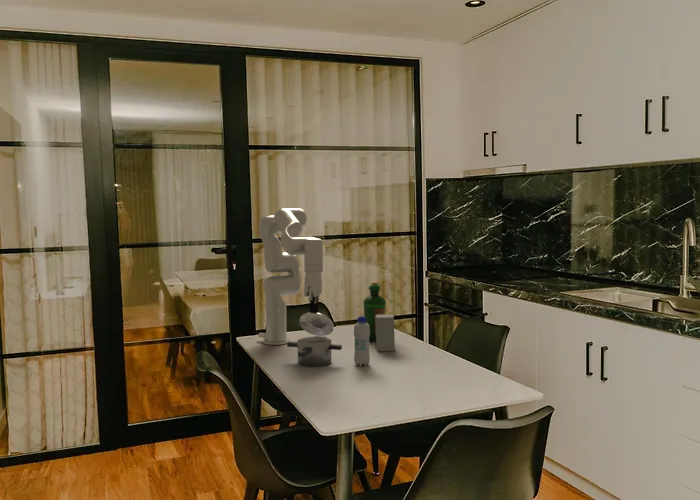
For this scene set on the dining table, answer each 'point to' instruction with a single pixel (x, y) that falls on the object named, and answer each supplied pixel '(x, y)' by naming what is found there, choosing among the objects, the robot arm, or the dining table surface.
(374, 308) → the bottle
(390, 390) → the dining table surface
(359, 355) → the bottle
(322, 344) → the cooker
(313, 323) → the lid
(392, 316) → the skincare box
